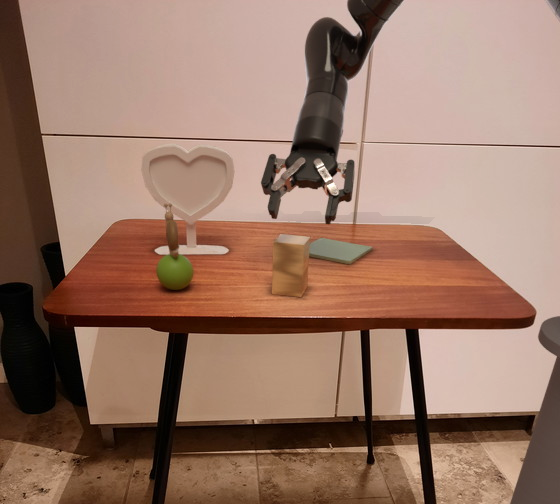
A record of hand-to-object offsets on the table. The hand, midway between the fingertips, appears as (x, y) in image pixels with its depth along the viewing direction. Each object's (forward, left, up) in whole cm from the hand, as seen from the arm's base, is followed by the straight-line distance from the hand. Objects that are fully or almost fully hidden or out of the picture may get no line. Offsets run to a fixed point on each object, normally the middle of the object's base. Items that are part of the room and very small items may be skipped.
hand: (300, 218), depth 84 cm
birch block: (-1, +5, -10) cm, 11 cm away
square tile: (+2, -18, -10) cm, 20 cm away
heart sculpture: (+24, -3, -10) cm, 26 cm away
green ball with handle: (+14, +14, -10) cm, 22 cm away
